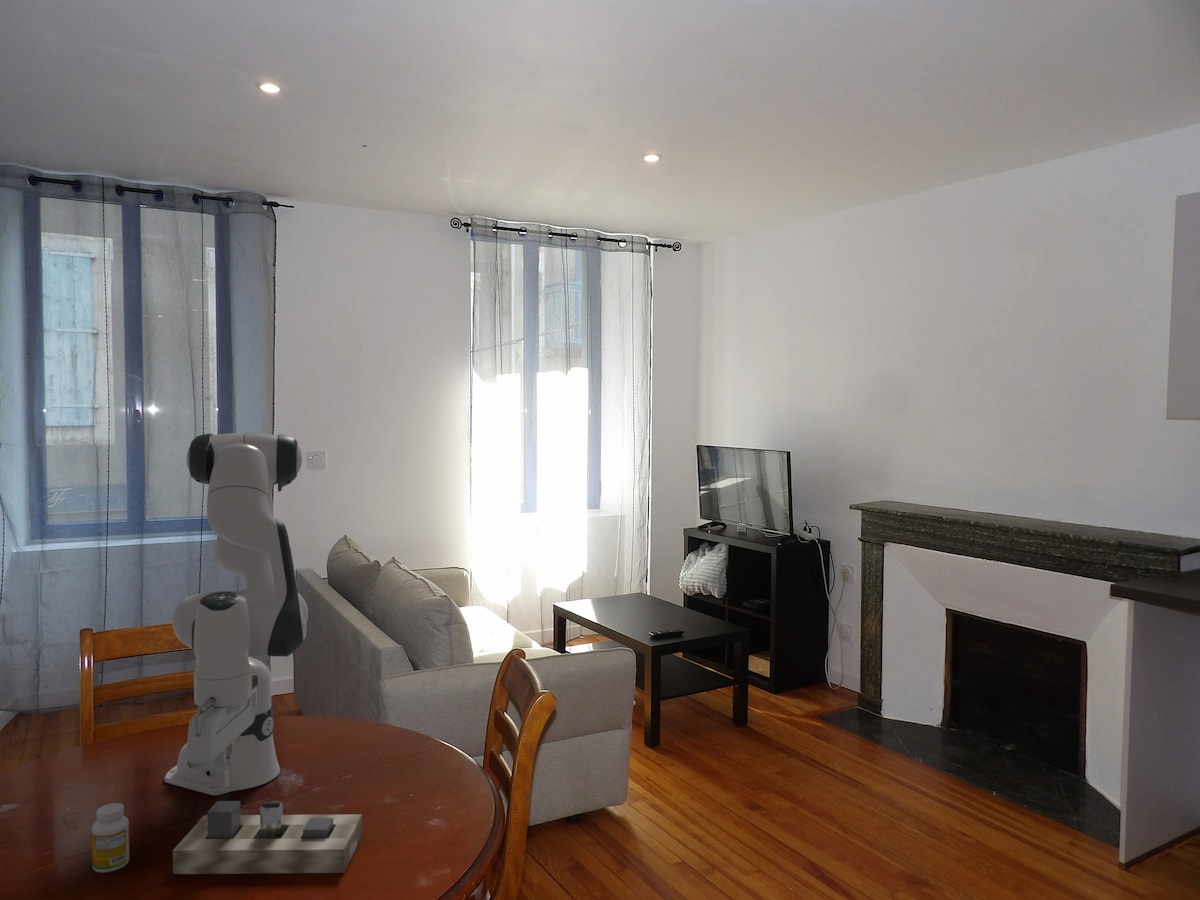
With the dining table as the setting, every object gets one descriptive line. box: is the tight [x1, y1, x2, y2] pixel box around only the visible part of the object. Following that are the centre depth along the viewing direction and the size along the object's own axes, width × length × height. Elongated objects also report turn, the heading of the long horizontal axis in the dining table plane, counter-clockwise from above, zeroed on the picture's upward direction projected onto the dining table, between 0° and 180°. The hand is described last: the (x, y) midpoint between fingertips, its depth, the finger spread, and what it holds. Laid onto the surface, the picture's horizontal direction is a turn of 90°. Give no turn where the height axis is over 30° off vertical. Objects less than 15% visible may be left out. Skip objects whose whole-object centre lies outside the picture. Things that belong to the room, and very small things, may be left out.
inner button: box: [206, 800, 242, 839], centre depth 145 cm, size 4×4×5 cm
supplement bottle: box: [91, 802, 130, 874], centre depth 142 cm, size 5×5×10 cm
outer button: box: [303, 818, 333, 839], centre depth 146 cm, size 4×4×5 cm
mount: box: [172, 813, 363, 875], centre depth 146 cm, size 28×12×4 cm, turn 92°
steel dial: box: [259, 800, 284, 839], centre depth 145 cm, size 4×4×6 cm
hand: (223, 769), depth 144 cm, fingers closed
